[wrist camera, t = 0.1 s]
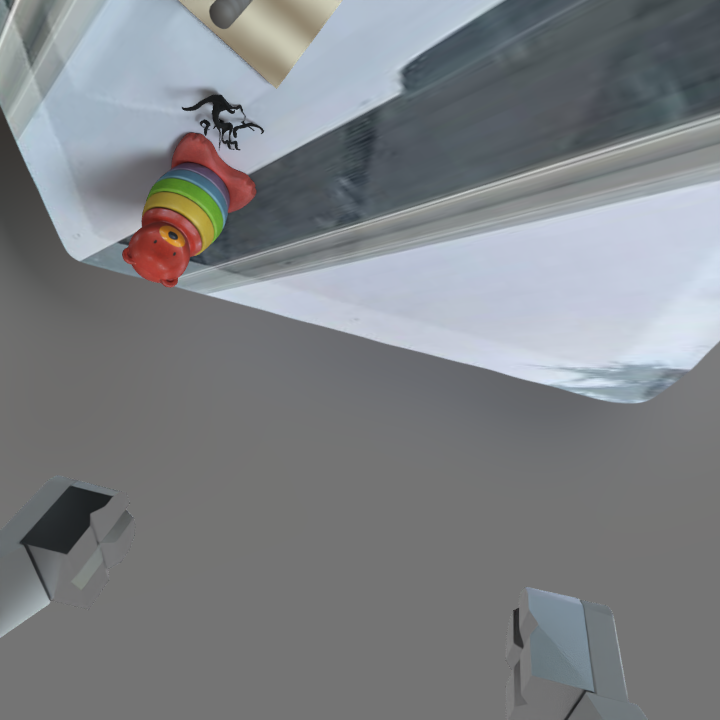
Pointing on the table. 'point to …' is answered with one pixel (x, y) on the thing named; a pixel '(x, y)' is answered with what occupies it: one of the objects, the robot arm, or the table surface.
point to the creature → (219, 106)
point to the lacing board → (265, 29)
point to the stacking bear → (186, 210)
